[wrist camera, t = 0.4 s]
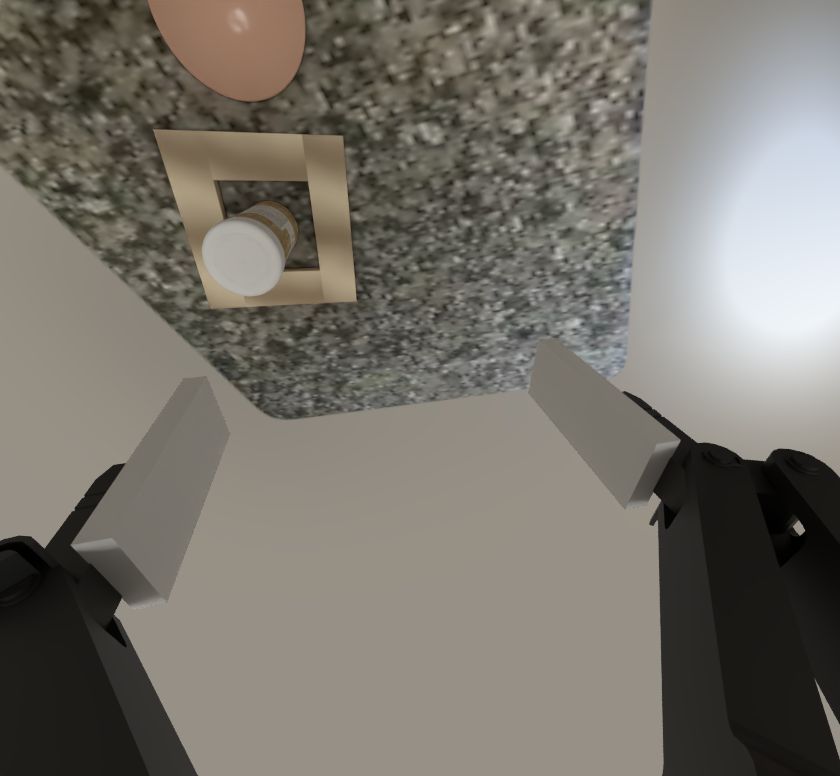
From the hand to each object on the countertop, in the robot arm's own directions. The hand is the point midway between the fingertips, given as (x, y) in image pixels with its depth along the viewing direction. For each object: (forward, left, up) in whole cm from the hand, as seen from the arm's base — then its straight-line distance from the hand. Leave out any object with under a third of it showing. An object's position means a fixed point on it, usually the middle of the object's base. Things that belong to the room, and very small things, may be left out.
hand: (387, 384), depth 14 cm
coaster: (-16, -7, -25) cm, 31 cm away
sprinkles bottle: (-2, -7, -25) cm, 26 cm away
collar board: (-2, -7, -25) cm, 26 cm away
